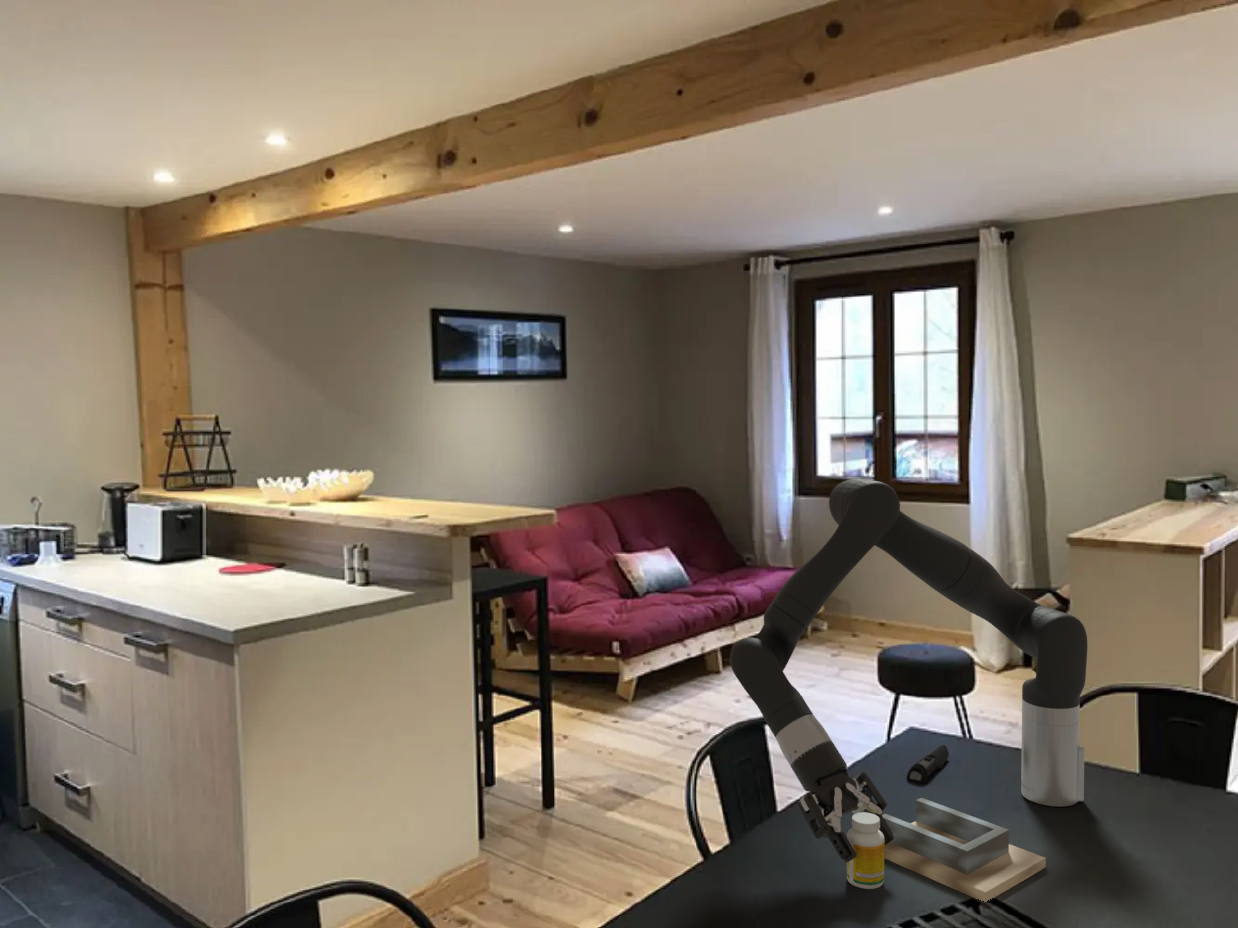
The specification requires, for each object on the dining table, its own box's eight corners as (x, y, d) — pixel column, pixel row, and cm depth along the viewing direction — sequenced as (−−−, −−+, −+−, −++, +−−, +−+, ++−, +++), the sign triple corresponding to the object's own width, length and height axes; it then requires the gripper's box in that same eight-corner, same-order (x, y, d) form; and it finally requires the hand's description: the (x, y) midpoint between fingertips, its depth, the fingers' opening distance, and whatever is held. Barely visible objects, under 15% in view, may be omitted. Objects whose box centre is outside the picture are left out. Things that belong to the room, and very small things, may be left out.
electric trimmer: (954, 761, 190) (954, 746, 190) (924, 786, 178) (924, 769, 178) (934, 757, 192) (935, 742, 192) (904, 782, 180) (904, 765, 180)
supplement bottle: (839, 877, 145) (839, 814, 144) (867, 869, 147) (867, 807, 146) (863, 893, 140) (863, 828, 139) (892, 884, 142) (892, 820, 141)
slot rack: (869, 851, 152) (869, 820, 152) (930, 823, 162) (930, 793, 162) (985, 902, 137) (985, 868, 136) (1045, 867, 146) (1045, 835, 146)
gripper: (791, 751, 144) (853, 854, 136) (853, 729, 153) (916, 825, 144) (765, 775, 148) (824, 876, 140) (827, 753, 157) (886, 847, 149)
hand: (870, 850), depth 142 cm, fingers open, 8 cm apart
